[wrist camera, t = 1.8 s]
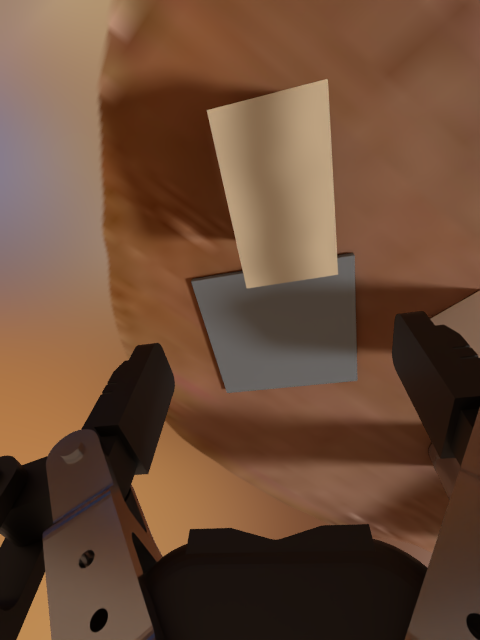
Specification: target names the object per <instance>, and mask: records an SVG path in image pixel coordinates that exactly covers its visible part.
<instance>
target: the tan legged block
mask: <svg viewBox="0 0 480 640" xmlns="http://www.w3.org/2000/svg"><path fill="white" fill-rule="evenodd" d="M207 114H208V118H209V123H210V127H211V131H212V136H213V140H214V145H215V149H216V154H217V158H218V163H219V167H220V172H221V176H222V181H223V185H224V189H225V194H226V198H227V203H228V207H229V212H230V216H231V221H232V225H233V230H234V234H235V239H236V243H237V247H238V252H239V256H240V261H241V265H242V270H243V274H244V279H245V283H246V288H254V287H260V286H267V285H273V284H280V283H286V282H293V281H300V280H306V279H313V278H319V277H326V276H332V275H338V263H337V244H336V225H335V206H334V187H333V168H332V150H331V131H330V112H329V93H328V79H325V80H321V81H318V82H314V83H310V84H306V85H302V86H298V87H295V88H291V89H287V90H283V91H279V92H275V93H271V94H268V95H264V96H260V97H256V98H252V99H248V100H244V101H241V102H237V103H233V104H229V105H225V106H221V107H217V108H214V109H210V110H207Z"/></svg>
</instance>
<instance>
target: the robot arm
mask: <svg viewBox="0 0 480 640" xmlns="http://www.w3.org/2000/svg"><path fill="white" fill-rule="evenodd" d="M392 358H393V363H394V367H395V369H396V372H397V374H398V376H399V378H400V380H401V382H402V384H403V386H404V388H405V390H406V392H407V394H408V396H409V398H410V400H411V401H412V403H413V405H414V407H415V409H416V411H417V413H418V415H419V417H420V419H421V421H422V423H423V425H424V427H425V429H426V431H427V433H428V435H429V437H430V439H431V441H432V444H431V446H430V448H429V456H430V458H431V461H432V463H433V466H434V468H435V471H436V472H437V474H438V476H439V478H440V481H441V483H442V485H443V487H444V490H445V492H446V494H447V496H448V498H449V504H448V507H447V510H446V513H445V516H444V519H443V522H442V525H441V528H440V531H439V535H438V538H437V541H436V544H435V547H434V550H433V553H432V556H431V560H430V563H429V566H428V568H427V567H426V566H425V565H423V564H422V563H421V562H420V561H418V560H417V559H415V558H414V557H412V556H411V555H409V554H408V553H406V552H404V551H402V550H400V549H399V548H397V547H395V546H392V545H390V544H387V543H385V542H382V541H379V540H375V539H372V535H371V531H370V527H369V524H362V525H325V526H319V527H316V528H313V529H310V530H307V531H304V532H301V533H298V534H295V535H292V536H289V537H285V538H283V539H279V540H272V539H268V538H265V537H261V536H258V535H254V534H250V533H246V532H243V531H240V530H236V529H232V528H217V529H190V532H189V538H188V544H186V545H183V546H181V547H179V548H177V549H175V550H173V551H171V552H170V553H168V554H167V555H165V556H164V557H162V555H161V553H160V551H159V549H158V547H157V546H156V543H155V541H154V540H153V537H152V535H151V532H150V530H149V527H148V524H147V522H146V519H145V517H144V514H143V511H142V509H141V506H140V504H139V501H138V499H137V496H136V494H135V491H134V489H133V487H132V485H131V483H132V480H133V477H134V475H139V474H148V472H149V469H150V466H151V463H152V460H153V456H154V453H155V450H156V447H157V443H158V441H159V437H160V434H161V431H162V428H163V425H164V421H165V418H166V415H167V412H168V408H169V405H170V402H171V399H172V396H173V392H174V387H175V381H174V376H173V373H172V370H171V368H170V365H169V363H168V361H167V358H166V356H165V353H164V351H163V348H162V346H161V345H160V344H159V343H153V344H145V345H138V346H136V348H135V349H134V351H133V353H132V355H131V357H130V359H129V360H128V361H124V362H123V363H122V364H121V365H120V366H119V367H118V368H117V369H116V370H115V371H114V372H113V374H112V376H111V378H110V379H109V381H108V385H106V387H105V388H104V390H103V392H102V393H103V394H102V395H100V397H99V399H98V401H97V402H96V404H95V406H94V408H93V410H92V412H91V413H90V415H89V417H88V419H87V420H86V422H85V424H84V426H83V427H82V429H81V430H78V431H75V432H72V433H70V434H69V435H67V436H65V437H64V438H63V439H61V440H60V441H59V442H58V443H57V444H56V445H55V446H54V447H53V448H52V450H51V451H50V453H49V455H48V456H47V457H44V458H41V459H39V460H36V461H33V462H30V463H27V464H25V465H21V464H20V463H19V462H18V461H17V460H16V459H15V458H14V457H12V456H2V457H0V534H2V535H3V536H4V537H5V540H4V541H3V543H2V545H1V547H0V640H16V639H17V637H18V634H19V632H20V630H21V627H22V625H23V623H24V620H25V618H26V615H27V613H28V611H29V608H30V606H31V604H32V601H33V599H34V597H35V594H36V592H37V590H38V587H39V585H40V582H41V580H42V578H43V575H44V573H45V572H46V583H47V594H48V604H49V616H50V626H51V637H52V640H480V358H479V357H478V354H477V353H476V352H475V351H474V350H473V348H470V345H469V344H468V343H467V341H466V340H465V339H464V338H463V337H462V336H461V335H460V334H459V333H458V332H456V331H454V330H452V329H451V328H449V327H447V326H446V325H434V323H433V322H432V321H431V319H430V318H429V317H428V316H427V314H426V313H425V312H424V311H418V312H410V313H402V314H397V315H396V317H395V322H394V334H393V347H392Z"/></svg>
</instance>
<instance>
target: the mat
mask: <svg viewBox="0 0 480 640" xmlns="http://www.w3.org/2000/svg"><path fill="white" fill-rule="evenodd" d="M337 263H338V275H332V276H326V277H319V278H313V279H306V280H300V281H293V282H286V283H280V284H273V285H267V286H260V287H254V288H246V283H245V279H244V274H243V271H239V272H233V273H226V274H220V275H214V276H208V277H202V278H196V279H192V281H191V283H192V286H193V289H194V292H195V295H196V298H197V301H198V305H199V308H200V311H201V314H202V317H203V320H204V323H205V326H206V329H207V332H208V335H209V339H210V342H211V345H212V348H213V351H214V354H215V357H216V360H217V363H218V366H219V370H220V373H221V376H222V379H223V382H224V385H225V388H226V391H227V393H232V392H243V391H253V390H264V389H274V388H285V387H295V386H306V385H316V384H327V383H338V382H348V381H357V345H356V300H355V256H354V254H353V253H349V254H343V255H337Z"/></svg>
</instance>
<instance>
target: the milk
mask: <svg viewBox="0 0 480 640" xmlns="http://www.w3.org/2000/svg"><path fill="white" fill-rule="evenodd" d="M431 321H432V322H433V323H434V325H446V326H447V327H449V328H451V329H452V330H454V331H456V332H458V333H459V334H460V335H461V336H462V337H463V338H464V339H465V340H466V341H467V343H468V344H469V345H470V348H473V350H474V351H475V352H476V353H477V354H478V357H479V358H480V291H478V292H476V293H474V294H473V295H471V296H469V297H467V298H466V299H464V300H462V301H460V302H459V303H457V304H455V305H453V306H452V307H450V308H448V309H446V310H445V311H443V312H441V313H439V314H438V315H436V316H434V317H432V318H431Z"/></svg>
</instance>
